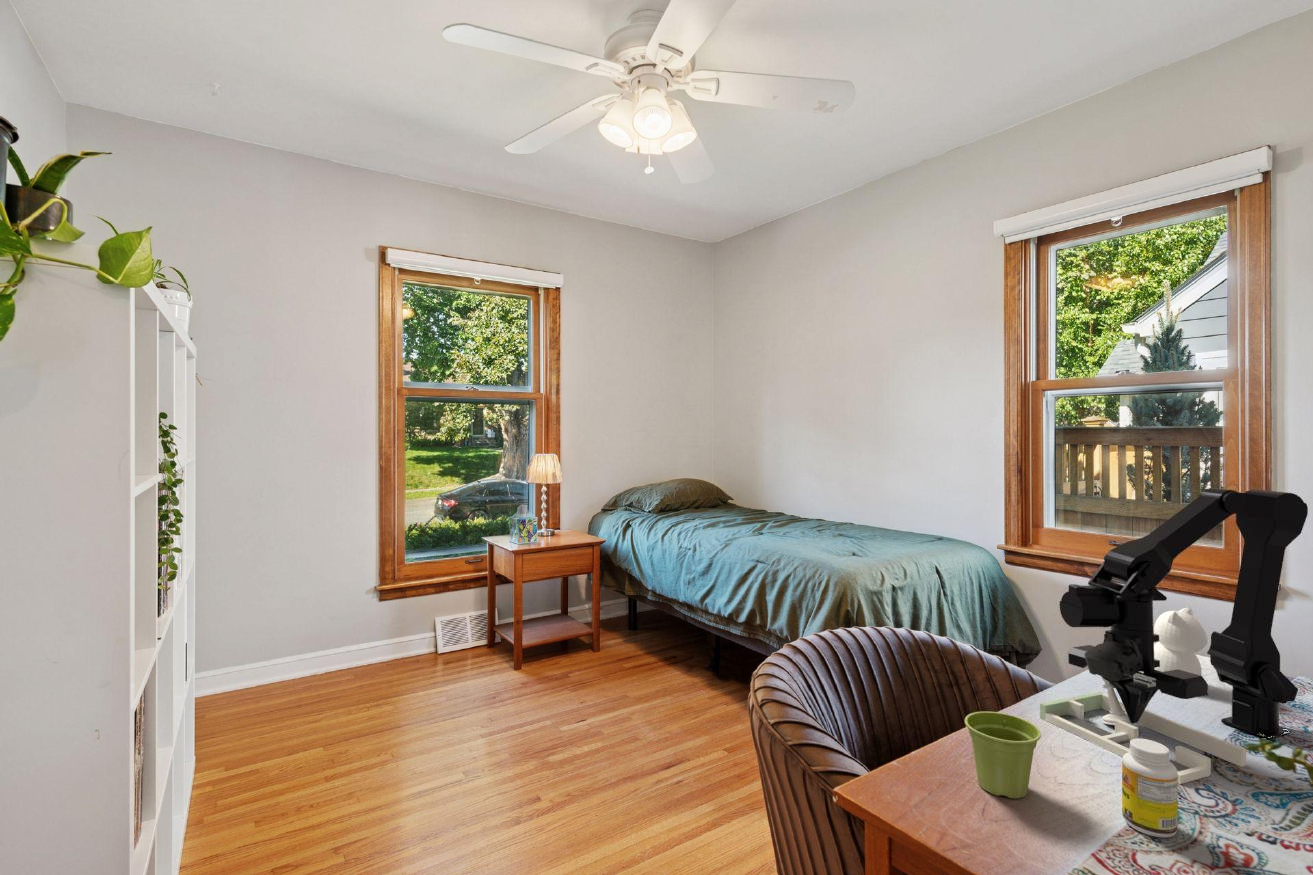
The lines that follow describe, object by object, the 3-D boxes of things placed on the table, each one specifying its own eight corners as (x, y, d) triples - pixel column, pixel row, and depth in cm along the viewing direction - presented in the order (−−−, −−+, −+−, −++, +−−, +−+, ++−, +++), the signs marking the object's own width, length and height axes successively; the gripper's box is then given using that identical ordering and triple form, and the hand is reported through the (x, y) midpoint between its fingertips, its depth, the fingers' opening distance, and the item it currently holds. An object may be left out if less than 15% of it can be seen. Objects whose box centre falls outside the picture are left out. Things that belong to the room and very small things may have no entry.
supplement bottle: (1123, 807, 85) (1124, 730, 85) (1177, 824, 81) (1178, 743, 81) (1119, 827, 81) (1120, 746, 81) (1176, 846, 77) (1177, 761, 77)
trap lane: (1099, 705, 116) (1100, 691, 116) (1246, 765, 95) (1246, 748, 95) (1040, 717, 111) (1040, 703, 111) (1180, 784, 90) (1180, 766, 90)
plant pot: (949, 777, 92) (949, 717, 92) (996, 763, 96) (996, 706, 96) (1008, 813, 84) (1008, 747, 84) (1056, 796, 88) (1057, 733, 87)
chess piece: (1143, 723, 105) (1123, 659, 108) (1110, 726, 106) (1092, 662, 109) (1129, 717, 110) (1110, 656, 113) (1097, 720, 111) (1080, 659, 113)
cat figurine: (1193, 698, 119) (1195, 618, 118) (1118, 674, 130) (1120, 601, 129) (1216, 689, 123) (1218, 611, 123) (1141, 666, 134) (1143, 595, 134)
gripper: (1044, 617, 112) (1046, 708, 112) (1160, 646, 95) (1163, 755, 94) (1089, 612, 116) (1091, 700, 115) (1208, 639, 99) (1211, 743, 98)
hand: (1134, 722), depth 106 cm, fingers closed, pressing on chess piece
